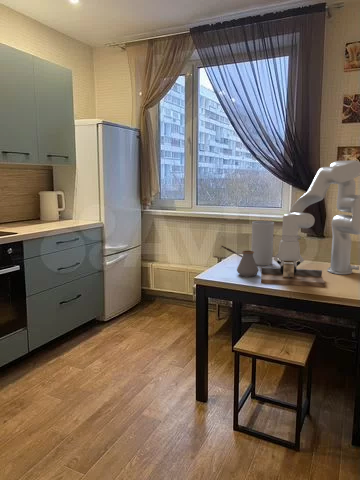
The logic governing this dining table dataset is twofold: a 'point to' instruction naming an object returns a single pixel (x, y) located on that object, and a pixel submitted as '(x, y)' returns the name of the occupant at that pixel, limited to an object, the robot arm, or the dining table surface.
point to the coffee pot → (246, 263)
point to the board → (300, 277)
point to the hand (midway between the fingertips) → (288, 273)
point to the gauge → (288, 269)
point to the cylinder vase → (262, 242)
